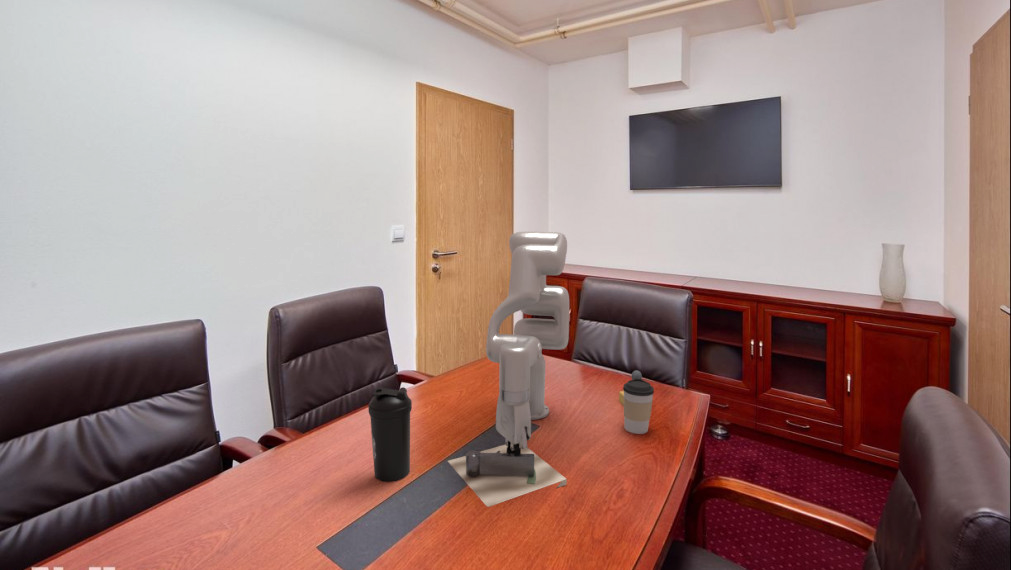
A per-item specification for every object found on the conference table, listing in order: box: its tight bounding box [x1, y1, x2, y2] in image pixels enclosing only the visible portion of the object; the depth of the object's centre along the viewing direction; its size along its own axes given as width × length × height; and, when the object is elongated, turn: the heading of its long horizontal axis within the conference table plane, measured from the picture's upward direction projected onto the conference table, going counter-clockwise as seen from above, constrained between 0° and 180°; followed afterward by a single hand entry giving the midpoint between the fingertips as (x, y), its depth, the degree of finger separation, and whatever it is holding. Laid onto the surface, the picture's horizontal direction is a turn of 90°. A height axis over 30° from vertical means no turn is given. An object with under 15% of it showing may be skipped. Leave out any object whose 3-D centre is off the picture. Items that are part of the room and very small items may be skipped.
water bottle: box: [367, 386, 413, 483], centre depth 116 cm, size 10×10×23 cm
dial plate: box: [447, 443, 568, 508], centre depth 119 cm, size 22×22×2 cm
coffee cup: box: [622, 378, 655, 435], centre depth 144 cm, size 9×9×15 cm
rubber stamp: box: [618, 370, 653, 407], centre depth 163 cm, size 10×6×12 cm, turn 100°
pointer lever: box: [465, 449, 534, 477], centre depth 116 cm, size 17×4×5 cm, turn 89°
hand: (513, 461), depth 119 cm, fingers closed
